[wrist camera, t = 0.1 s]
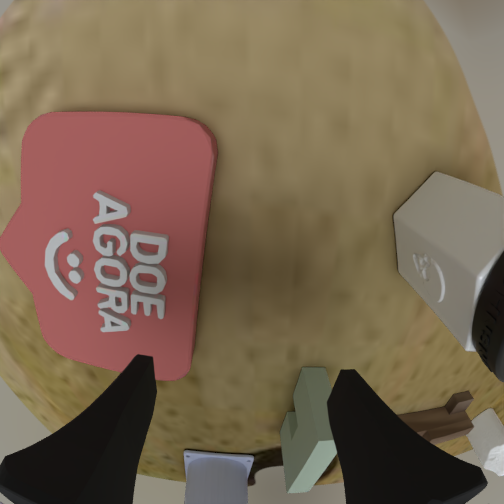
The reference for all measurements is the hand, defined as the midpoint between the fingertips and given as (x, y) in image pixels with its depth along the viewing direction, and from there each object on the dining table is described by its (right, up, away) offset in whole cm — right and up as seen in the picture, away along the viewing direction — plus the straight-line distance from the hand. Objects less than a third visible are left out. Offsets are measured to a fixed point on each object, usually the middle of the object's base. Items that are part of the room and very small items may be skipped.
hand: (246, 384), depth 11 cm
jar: (+14, +7, +9) cm, 18 cm away
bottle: (+36, -22, +22) cm, 47 cm away
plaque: (-10, +6, +9) cm, 15 cm away
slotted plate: (+5, -9, +15) cm, 18 cm away
